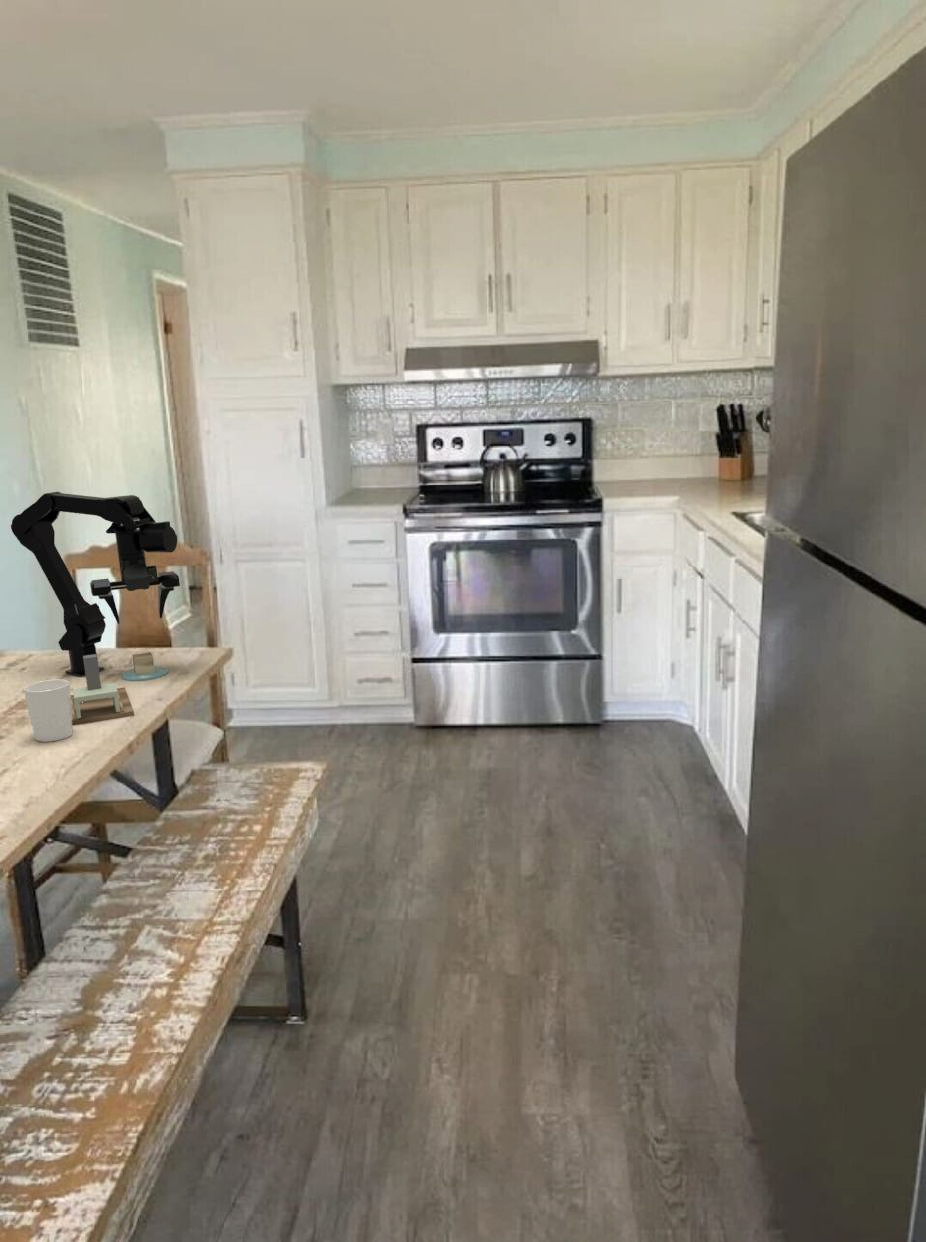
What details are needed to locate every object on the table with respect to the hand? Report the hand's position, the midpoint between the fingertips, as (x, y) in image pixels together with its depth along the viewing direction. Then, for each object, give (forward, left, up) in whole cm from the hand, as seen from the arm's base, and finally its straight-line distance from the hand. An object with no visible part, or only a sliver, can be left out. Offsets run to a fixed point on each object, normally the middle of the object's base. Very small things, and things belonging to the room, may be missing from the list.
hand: (139, 620), depth 223 cm
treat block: (+1, -1, -12) cm, 12 cm away
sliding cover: (+18, -25, -11) cm, 33 cm away
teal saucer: (+1, -1, -12) cm, 13 cm away
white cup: (+21, -36, -13) cm, 44 cm away
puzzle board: (+13, -22, -12) cm, 28 cm away
